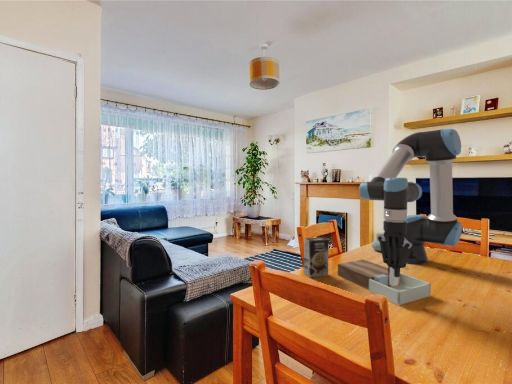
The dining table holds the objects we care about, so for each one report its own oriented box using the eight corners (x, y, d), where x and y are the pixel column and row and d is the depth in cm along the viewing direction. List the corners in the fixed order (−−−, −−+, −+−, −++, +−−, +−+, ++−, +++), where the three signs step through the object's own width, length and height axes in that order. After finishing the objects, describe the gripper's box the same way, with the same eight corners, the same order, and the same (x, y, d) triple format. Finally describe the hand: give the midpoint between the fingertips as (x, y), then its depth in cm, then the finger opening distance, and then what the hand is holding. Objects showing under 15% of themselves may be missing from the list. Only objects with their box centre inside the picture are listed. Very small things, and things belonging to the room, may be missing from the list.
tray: (398, 283, 111) (399, 272, 110) (430, 296, 99) (430, 283, 99) (368, 290, 104) (368, 279, 104) (398, 305, 92) (399, 292, 92)
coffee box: (310, 278, 118) (310, 241, 117) (303, 272, 124) (303, 237, 123) (328, 275, 120) (329, 239, 119) (321, 270, 126) (321, 236, 125)
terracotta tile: (395, 271, 109) (399, 272, 107) (395, 283, 109) (399, 285, 108) (386, 273, 107) (390, 274, 105) (386, 285, 107) (390, 287, 106)
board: (363, 270, 127) (363, 259, 127) (397, 283, 110) (397, 271, 110) (337, 275, 121) (337, 264, 120) (370, 290, 104) (370, 277, 104)
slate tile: (383, 274, 106) (387, 275, 104) (383, 286, 106) (387, 288, 104) (374, 276, 104) (378, 277, 102) (373, 288, 104) (378, 290, 102)
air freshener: (379, 247, 166) (379, 231, 166) (392, 250, 160) (393, 233, 159) (369, 250, 159) (370, 233, 159) (384, 253, 153) (384, 236, 152)
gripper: (372, 218, 102) (371, 280, 104) (404, 224, 90) (402, 293, 92) (387, 217, 105) (385, 277, 107) (419, 222, 94) (417, 289, 95)
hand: (393, 284), depth 99 cm, fingers closed
